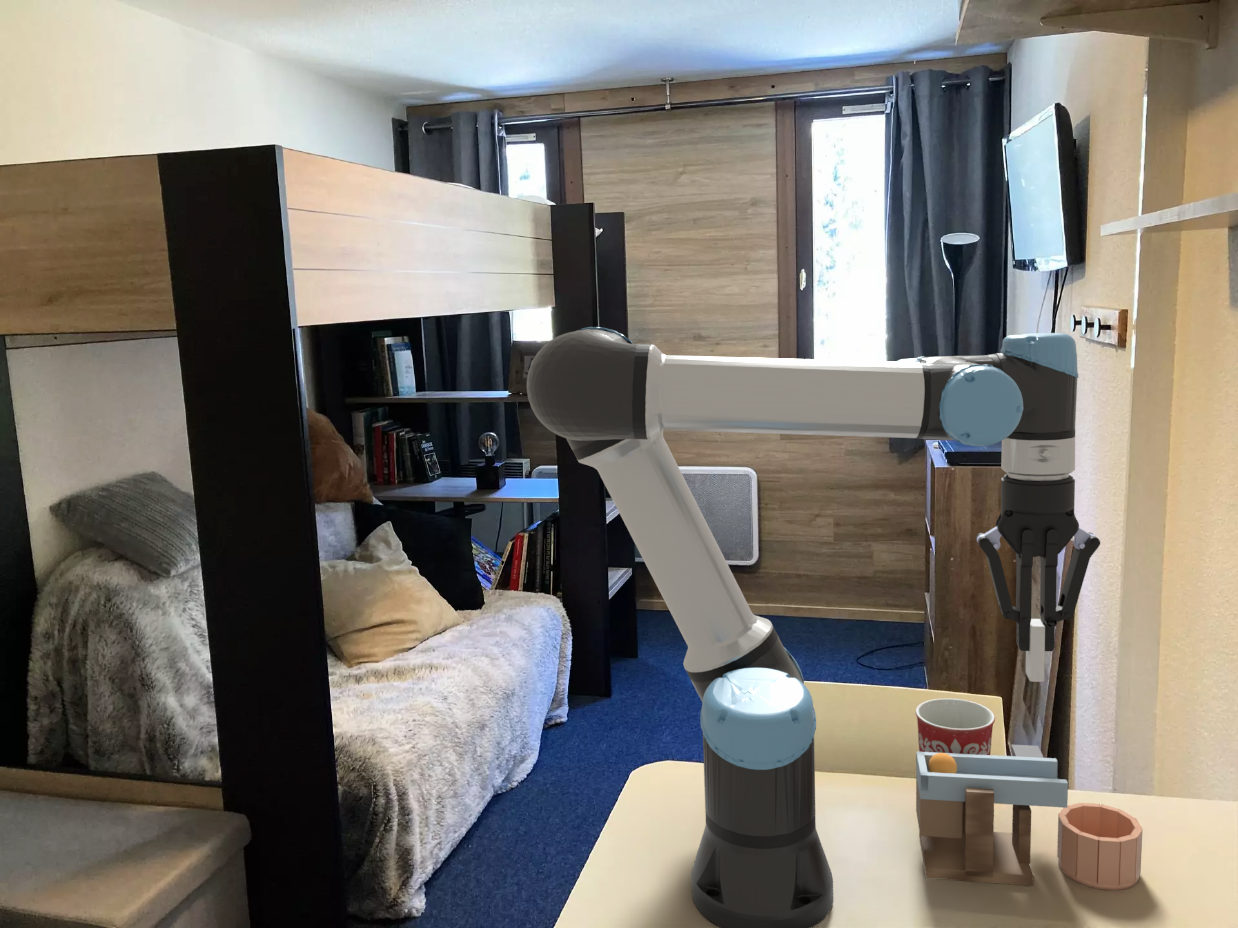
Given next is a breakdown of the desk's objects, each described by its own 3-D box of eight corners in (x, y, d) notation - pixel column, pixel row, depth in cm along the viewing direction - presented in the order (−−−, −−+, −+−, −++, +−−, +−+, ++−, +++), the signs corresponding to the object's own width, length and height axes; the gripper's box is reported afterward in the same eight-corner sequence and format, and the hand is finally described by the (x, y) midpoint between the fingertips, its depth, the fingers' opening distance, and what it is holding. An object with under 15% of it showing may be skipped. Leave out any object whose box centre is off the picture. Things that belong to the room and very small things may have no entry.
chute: (920, 836, 109) (920, 775, 108) (911, 780, 122) (911, 725, 120) (1066, 846, 106) (1068, 783, 105) (1041, 788, 118) (1043, 731, 117)
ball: (929, 784, 109) (930, 759, 109) (927, 772, 112) (927, 747, 112) (958, 786, 109) (958, 760, 108) (955, 773, 112) (955, 748, 111)
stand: (926, 877, 108) (926, 789, 107) (919, 836, 117) (919, 753, 115) (1034, 885, 106) (1036, 795, 104) (1019, 842, 114) (1021, 758, 113)
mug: (998, 839, 115) (1000, 730, 113) (917, 833, 117) (917, 726, 115) (984, 787, 127) (986, 688, 125) (911, 782, 130) (911, 684, 127)
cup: (1067, 886, 106) (1068, 838, 105) (1051, 846, 113) (1052, 800, 112) (1149, 892, 104) (1151, 843, 103) (1127, 851, 112) (1128, 805, 111)
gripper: (980, 481, 107) (979, 688, 111) (1110, 479, 104) (1105, 691, 108) (970, 469, 114) (970, 663, 118) (1092, 467, 112) (1087, 666, 115)
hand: (1034, 676), depth 113 cm, fingers closed
